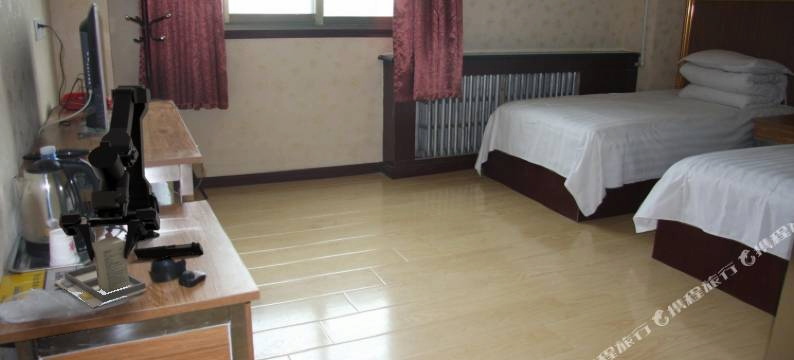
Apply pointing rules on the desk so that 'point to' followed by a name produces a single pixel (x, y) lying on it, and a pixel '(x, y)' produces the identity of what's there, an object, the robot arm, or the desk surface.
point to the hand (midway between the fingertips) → (108, 259)
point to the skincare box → (110, 264)
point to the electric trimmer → (169, 250)
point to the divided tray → (96, 286)
